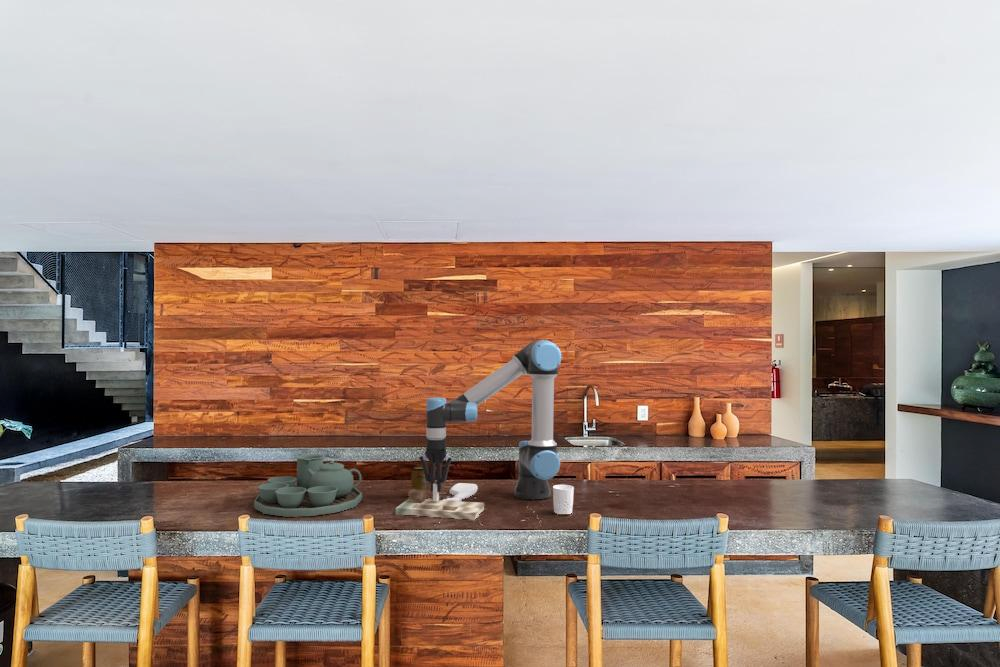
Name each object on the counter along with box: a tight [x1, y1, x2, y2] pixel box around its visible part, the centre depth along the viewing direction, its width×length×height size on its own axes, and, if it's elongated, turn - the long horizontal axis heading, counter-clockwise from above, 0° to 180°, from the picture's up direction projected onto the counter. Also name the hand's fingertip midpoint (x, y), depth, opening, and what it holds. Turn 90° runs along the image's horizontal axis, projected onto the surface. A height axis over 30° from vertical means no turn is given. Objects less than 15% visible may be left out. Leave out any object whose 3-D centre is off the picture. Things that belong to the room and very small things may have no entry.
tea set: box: [253, 453, 363, 516], centre depth 239 cm, size 40×40×16 cm
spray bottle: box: [442, 482, 479, 501], centre depth 255 cm, size 3×11×24 cm
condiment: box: [410, 466, 427, 496], centre depth 252 cm, size 7×8×12 cm
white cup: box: [552, 484, 575, 514], centre depth 229 cm, size 8×8×10 cm
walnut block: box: [408, 489, 426, 503], centre depth 235 cm, size 5×5×4 cm
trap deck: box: [395, 498, 485, 521], centre depth 230 cm, size 30×15×2 cm, turn 79°
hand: (435, 500), depth 234 cm, fingers closed
